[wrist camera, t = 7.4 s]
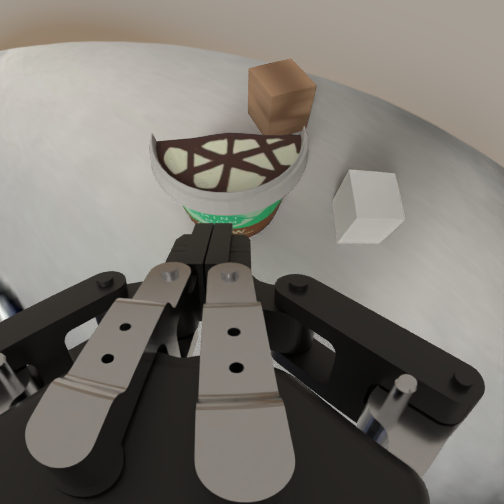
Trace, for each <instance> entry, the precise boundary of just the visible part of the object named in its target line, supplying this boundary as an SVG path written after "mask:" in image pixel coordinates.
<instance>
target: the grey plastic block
mask: <svg viewBox="0 0 504 504" xmlns="http://www.w3.org/2000/svg"><path fill="white" fill-rule="evenodd" d="M332 205H333V213H334V221H335V230H336V239H337V243H361V244H379V243H380V242H381V241H382V240H383V239H385V238H386V237H387V236H388V235H389V234H390V233H391V232H392V231H393V230H395V229H396V228H397V227H398V226H399V225H400V224H401V223H402V222H403V221H404V220H405V215H404V210H403V205H402V201H401V196H400V192H399V188H398V184H397V180H396V176H395V173H386V172H375V171H363V170H350V169H349V170H348V172H347V174H346V176H345V178H344V180H343V182H342V184H341V186H340V187H339V189H338V191H337V193H336V195H335V197H334V199H333V201H332Z"/></svg>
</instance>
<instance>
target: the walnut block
mask: <svg viewBox="0 0 504 504" xmlns="http://www.w3.org/2000/svg"><path fill="white" fill-rule="evenodd" d="M315 91H316V84H315V83H314V82H313V81H312V80H311V79H310V78H309V77H308V76H307V75H306V74H305V73H304V72H303V70H302V69H301V68H300V67H299V66H298V65H297V64H296V63H295V62H294V61H293V60H292V59H288V60H283V61H279V62H274V63H269V64H265V65H261V66H256V67H252V68H249V80H248V114H249V115H250V116H251V118H252V119H253V121H254V122H255V124H256V125H257V127H258V128H259V130H260V131H261V133H262V134H263V135H289V134H293V133H296V132H299V131H302V130H303V127H304V126H305V130H306V127H307V123H308V119H309V115H310V111H311V107H312V103H313V99H314V95H315Z"/></svg>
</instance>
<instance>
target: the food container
mask: <svg viewBox="0 0 504 504" xmlns="http://www.w3.org/2000/svg"><path fill="white" fill-rule="evenodd" d="M149 150H150V160H151V167H152V171H153V174H154V176H155V179H156V181H157V182H158V184H159V185H160V187H161V188H162V189H163V191H164V192H165V193H166V194H167V195H168V196H169V197H171V198H172V199H173V200H175V201H176V202H177V203H179V204H181V205H182V206H183V207H184V209H185V210H186V212H187V214H188V215H189V217H190V218H191V220H192V221H193V222H194V223H195V224H196V223H214V225H215V223H233V234H245V235H246V236H247V237H251V236H253V235H255V234H257V233H258V232H260V231H262V230H263V229H264V228H265V227H266V226H267V225H268V224H269V223H270V222H271V220H272V219H273V217H274V215H275V214H276V212H277V209H278V207H279V205H280V203H281V200H282V198H283V197H284V196H285V195H286V194H287V193H289V192H290V191H291V190H292V189H293V187H294V186H295V185H296V184H297V183H298V181H299V180H300V178H301V176H302V174H303V173H304V170H305V167H306V164H307V159H308V137H307V132H305V126H304V127H303V130H302V132H301V135H292V134H289V135H255V134H242V133H224V134H215V135H209V136H204V137H197V138H190V139H178V140H167V141H156V139H155V137H154V136H153V134H152V133H151V139H150V144H149Z"/></svg>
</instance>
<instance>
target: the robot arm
mask: <svg viewBox="0 0 504 504" xmlns="http://www.w3.org/2000/svg"><path fill="white" fill-rule="evenodd" d="M94 317H95V318H96V321H97V324H98V327H97V328H96V330H95V331H94V333H93V334H92V336H91V337H90V339H88V340H86V341H85V342H83V343H81V344H79V345H78V346H76V347H74V348H72V349H70V350H68V349H67V347H66V345H65V336H66V334H67V333H68V332H69V331H70V330H72V329H74V328H76V327H78V326H80V325H81V324H83V323H85V322H87V321H89V320H91V319H92V318H94ZM199 321H202V332H201V351H200V356H194V357H192V356H193V352H194V349H195V345H196V342H197V338H198V332H197V328H198V324H199ZM314 332H315V333H317V334H318V335H320V336H321V337H323V338H324V339H326V340H327V341H329V342H330V343H331V344H332V346H333V347H334V349H335V352H333V351H332V350H330V349H329V348H327V347H326V346H324V345H323V344H321V343H320V342H318V341H317V340H315V339H314V338H313V335H314ZM270 350H271V352H270ZM271 356H272V357H271ZM272 358H273V359H274V360H275V361H276V362H277V363H279V364H280V365H281V366H282V367H284V368H285V369H286V370H287V371H289V372H290V373H291V374H292V375H294V376H295V377H296V378H295V377H294V376H292V375H290V374H288V373H286V372H284V371H282V370H280V369H277V368H275V367H273V362H272ZM27 365H28V366H27ZM298 379H299V380H300V381H299V380H298ZM302 382H303V383H304V384H305V385H306V386H305V385H304V384H303V383H302ZM307 386H308V387H309V388H310V389H312V390H313V391H314V392H315V393H317V394H318V395H319V396H321V397H322V398H323V399H325V400H326V401H327V402H329V403H330V404H331V405H333V406H334V407H335V408H337V409H338V410H339V411H341V412H342V413H343V414H345V415H346V416H348V417H349V418H350V419H352V420H353V421H354V422H356V423H357V427H356V426H355V425H354V424H352V423H351V422H350V421H349V420H347V419H346V418H345V417H344V416H342V415H341V414H340V413H339V412H337V411H336V410H335V409H334V408H332V407H331V406H330V405H329V404H327V403H326V402H325V401H324V400H322V399H321V398H320V397H319V396H318V395H316V394H315V393H314V392H313V391H311V390H310V389H309V388H308V387H307ZM484 390H485V385H484V381H483V378H482V376H481V375H480V373H479V372H478V371H477V370H476V369H475V368H473V367H472V366H470V365H469V364H467V363H465V362H463V361H461V360H460V359H458V358H456V357H454V356H453V355H451V354H449V353H447V352H445V351H444V350H442V349H440V348H438V347H436V346H435V345H433V344H431V343H429V342H427V341H426V340H424V339H422V338H420V337H419V336H417V335H415V334H413V333H411V332H410V331H408V330H406V329H404V328H402V327H401V326H399V325H397V324H395V323H393V322H392V321H390V320H388V319H386V318H384V317H382V316H381V315H379V314H377V313H375V312H373V311H372V310H370V309H368V308H366V307H364V306H363V305H361V304H359V303H357V302H355V301H354V300H352V299H350V298H348V297H346V296H344V295H343V294H341V293H339V292H337V291H335V290H334V289H332V288H330V287H328V286H326V285H324V284H323V283H321V282H319V281H317V280H315V279H313V278H311V277H309V276H306V275H300V274H291V275H286V276H283V277H281V278H279V279H278V280H277V281H276V283H275V285H271V284H267V283H264V282H261V281H259V280H257V279H256V278H255V277H254V276H253V275H252V272H251V247H250V239H249V238H248V237H247V236H246V235H245V234H233V223H215V225H214V223H196V225H195V227H194V230H193V232H192V234H184V235H182V236H181V237H179V238H178V239H176V241H175V243H174V245H173V247H172V249H171V252H170V254H169V256H168V258H167V260H166V262H165V263H163V264H160V265H157V266H155V267H154V268H153V269H151V271H150V272H149V274H148V275H147V277H146V278H145V280H144V281H143V282H137V283H131V284H127V283H126V278H125V276H124V275H123V274H122V273H120V272H115V271H109V272H103V273H100V274H97V275H95V276H93V277H91V278H88V279H86V280H84V281H82V282H80V283H78V284H76V285H74V286H72V287H70V288H68V289H65V290H63V291H61V292H59V293H57V294H55V295H53V296H51V297H49V298H47V299H45V300H43V301H41V302H39V303H37V304H35V305H33V306H31V307H29V308H27V309H25V310H23V311H21V312H19V313H17V314H15V315H13V316H11V317H10V318H8V319H6V320H4V321H2V322H0V504H430V498H429V494H428V490H427V488H426V486H425V484H424V482H423V480H422V477H423V476H424V474H425V473H426V471H427V470H428V469H429V467H430V466H431V464H432V463H433V461H434V460H435V458H436V457H437V455H438V453H439V452H440V450H441V449H442V447H443V445H444V444H445V442H446V440H447V439H448V438H449V437H450V436H451V435H452V434H453V432H454V431H455V430H456V429H457V428H458V427H459V425H460V424H461V423H462V422H463V421H464V419H465V418H466V417H467V416H468V414H469V413H470V412H471V411H472V409H473V408H474V407H475V405H476V404H477V403H478V401H479V400H480V399H481V397H482V396H483V394H484Z"/></svg>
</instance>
